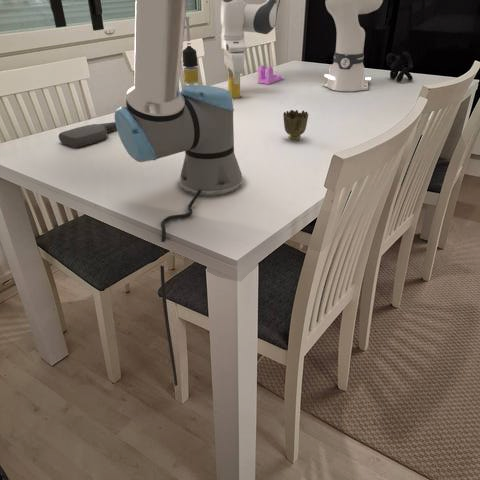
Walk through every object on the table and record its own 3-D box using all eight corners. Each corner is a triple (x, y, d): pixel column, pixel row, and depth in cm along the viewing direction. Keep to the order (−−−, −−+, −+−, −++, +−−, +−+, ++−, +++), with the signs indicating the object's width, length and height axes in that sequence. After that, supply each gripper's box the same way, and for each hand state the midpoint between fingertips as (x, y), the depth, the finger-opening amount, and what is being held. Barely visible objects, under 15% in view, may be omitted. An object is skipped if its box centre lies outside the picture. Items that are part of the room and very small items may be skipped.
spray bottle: (57, 141, 138) (121, 123, 154) (77, 149, 132) (142, 129, 148) (55, 132, 136) (120, 114, 152) (75, 139, 130) (141, 120, 146)
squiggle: (400, 92, 202) (376, 71, 205) (417, 76, 202) (392, 56, 205) (405, 81, 191) (380, 59, 194) (423, 64, 191) (397, 42, 194)
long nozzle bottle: (202, 103, 173) (196, 17, 157) (188, 104, 171) (181, 18, 155) (197, 99, 177) (192, 15, 161) (184, 101, 176) (177, 16, 160)
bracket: (268, 84, 198) (268, 67, 194) (258, 82, 201) (258, 66, 197) (284, 78, 207) (284, 62, 203) (274, 77, 209) (274, 61, 206)
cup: (278, 141, 135) (279, 114, 131) (287, 133, 140) (288, 108, 136) (301, 144, 132) (303, 118, 128) (310, 137, 137) (312, 111, 133)
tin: (242, 96, 181) (242, 77, 177) (233, 98, 178) (233, 79, 174) (235, 94, 184) (234, 75, 180) (226, 96, 181) (225, 77, 177)
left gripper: (112, -81, 95) (127, 29, 106) (38, -74, 106) (59, 24, 118) (84, -83, 89) (103, 33, 101) (9, -76, 101) (34, 27, 112)
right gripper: (219, 39, 179) (221, 75, 186) (230, 48, 162) (230, 87, 169) (235, 39, 180) (235, 74, 187) (246, 47, 163) (247, 86, 171)
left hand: (79, 28), depth 109 cm, fingers open, 13 cm apart
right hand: (233, 80), depth 178 cm, fingers open, 8 cm apart
